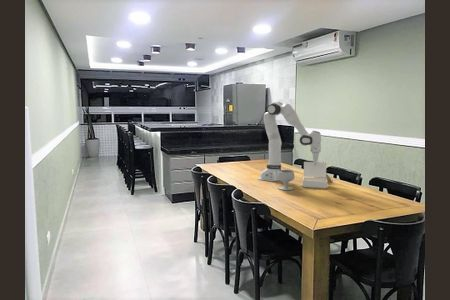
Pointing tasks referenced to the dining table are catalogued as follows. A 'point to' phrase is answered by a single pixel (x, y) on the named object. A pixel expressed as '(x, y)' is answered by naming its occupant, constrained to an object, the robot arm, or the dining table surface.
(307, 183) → the mailer box
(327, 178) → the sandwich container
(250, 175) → the dining table surface
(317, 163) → the lid
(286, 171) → the chalice
